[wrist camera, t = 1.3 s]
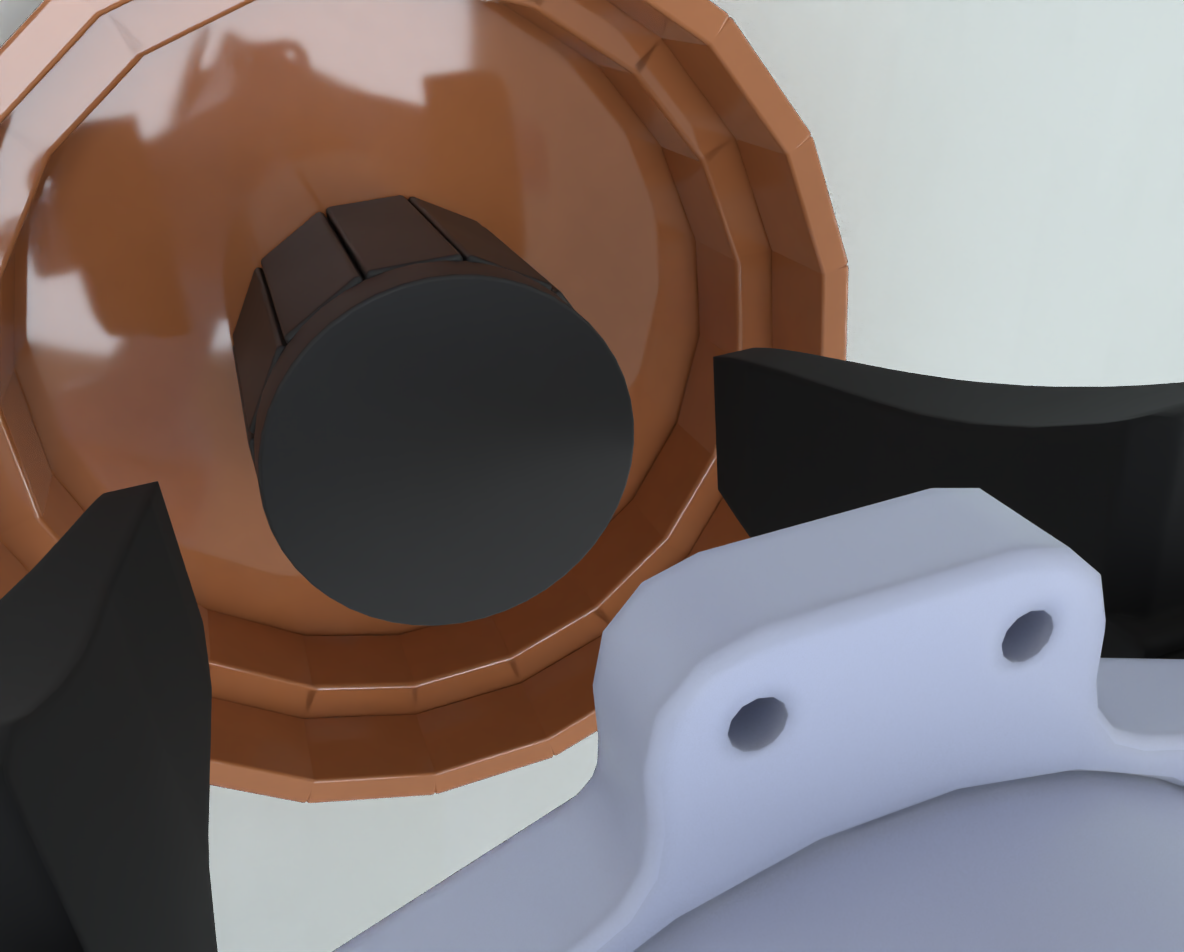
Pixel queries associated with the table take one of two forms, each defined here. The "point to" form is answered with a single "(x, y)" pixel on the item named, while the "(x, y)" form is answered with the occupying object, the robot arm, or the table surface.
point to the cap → (426, 414)
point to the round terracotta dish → (310, 185)
